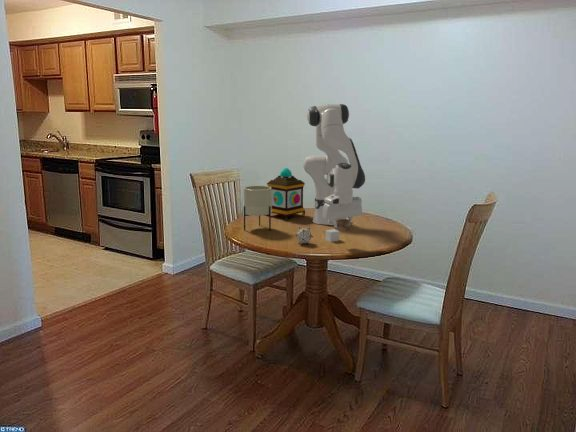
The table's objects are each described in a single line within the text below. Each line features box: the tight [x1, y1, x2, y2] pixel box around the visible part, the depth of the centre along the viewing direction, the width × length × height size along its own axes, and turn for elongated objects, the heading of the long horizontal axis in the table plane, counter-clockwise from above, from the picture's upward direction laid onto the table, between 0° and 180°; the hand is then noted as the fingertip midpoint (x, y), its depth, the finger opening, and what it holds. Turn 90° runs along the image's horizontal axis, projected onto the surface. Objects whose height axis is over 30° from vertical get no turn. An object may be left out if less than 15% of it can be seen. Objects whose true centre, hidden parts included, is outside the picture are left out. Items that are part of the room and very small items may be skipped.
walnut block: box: [334, 218, 351, 233], centre depth 222 cm, size 5×5×5 cm
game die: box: [296, 226, 314, 245], centre depth 228 cm, size 9×8×10 cm
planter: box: [243, 185, 273, 232], centre depth 255 cm, size 15×16×23 cm
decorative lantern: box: [266, 167, 306, 221], centre depth 286 cm, size 20×20×30 cm
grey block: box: [325, 228, 340, 243], centre depth 235 cm, size 5×5×5 cm
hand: (342, 226), depth 222 cm, fingers closed on walnut block, 5 cm apart
